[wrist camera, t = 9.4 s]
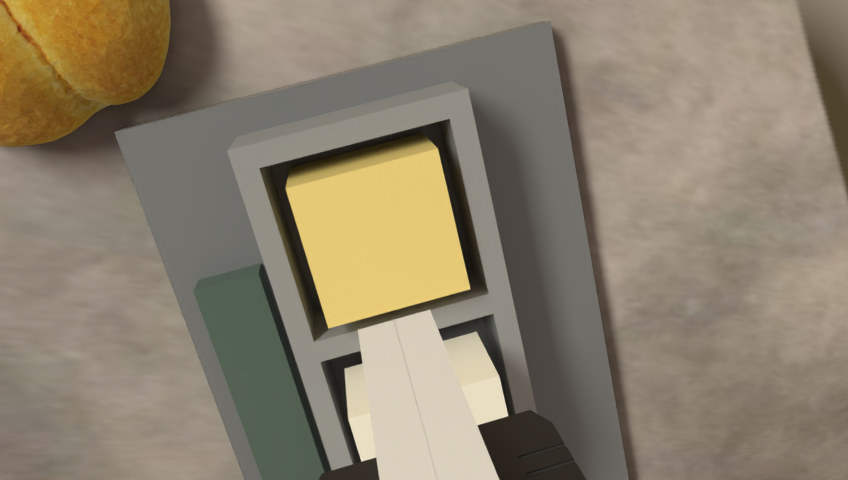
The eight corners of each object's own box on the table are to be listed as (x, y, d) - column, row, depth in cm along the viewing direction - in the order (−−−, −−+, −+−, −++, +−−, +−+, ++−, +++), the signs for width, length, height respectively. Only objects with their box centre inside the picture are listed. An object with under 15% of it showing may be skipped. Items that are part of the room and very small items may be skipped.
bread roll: (218, 55, 26) (202, 61, 22) (1, 169, 26) (-53, 194, 22) (83, -179, 23) (38, -218, 20) (-158, -51, 24) (-250, -65, 20)
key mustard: (327, 291, 28) (328, 328, 24) (289, 167, 26) (285, 188, 23) (452, 257, 28) (470, 289, 25) (422, 132, 26) (438, 148, 23)
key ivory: (378, 481, 28) (386, 544, 24) (344, 368, 26) (348, 419, 23) (502, 445, 28) (527, 501, 25) (476, 331, 26) (499, 376, 23)
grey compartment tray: (351, 746, 36) (355, 832, 32) (121, 127, 26) (88, 146, 22) (652, 652, 37) (690, 723, 33) (542, 21, 27) (579, 21, 23)
